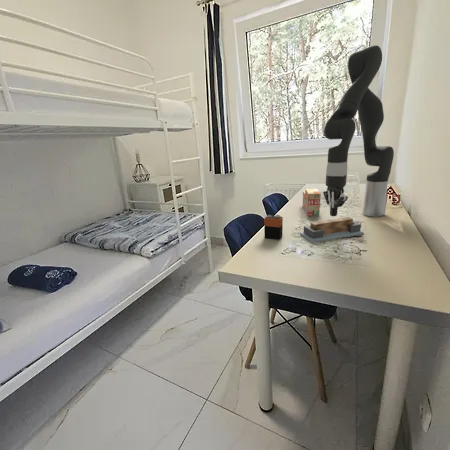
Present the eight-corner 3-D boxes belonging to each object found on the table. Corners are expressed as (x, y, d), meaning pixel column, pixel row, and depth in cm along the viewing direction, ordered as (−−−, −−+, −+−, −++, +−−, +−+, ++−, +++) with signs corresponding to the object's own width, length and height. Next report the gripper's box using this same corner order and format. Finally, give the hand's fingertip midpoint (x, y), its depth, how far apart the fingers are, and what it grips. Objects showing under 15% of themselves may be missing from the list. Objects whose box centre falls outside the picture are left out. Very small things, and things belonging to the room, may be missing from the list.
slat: (347, 227, 110) (348, 217, 109) (351, 230, 108) (353, 218, 106) (310, 233, 107) (310, 222, 105) (314, 236, 104) (314, 224, 102)
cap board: (348, 227, 114) (349, 218, 112) (363, 233, 105) (364, 224, 104) (300, 234, 109) (300, 225, 108) (311, 242, 101) (312, 232, 99)
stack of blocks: (302, 205, 153) (303, 185, 149) (313, 205, 152) (314, 185, 148) (307, 216, 133) (308, 193, 129) (319, 216, 132) (321, 192, 128)
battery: (279, 240, 105) (280, 217, 101) (264, 238, 108) (263, 216, 104) (282, 236, 108) (282, 214, 105) (267, 234, 111) (267, 213, 108)
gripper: (318, 172, 104) (316, 212, 110) (338, 176, 92) (335, 221, 98) (334, 171, 106) (331, 210, 111) (356, 174, 94) (352, 219, 99)
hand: (333, 215), depth 105 cm, fingers closed
